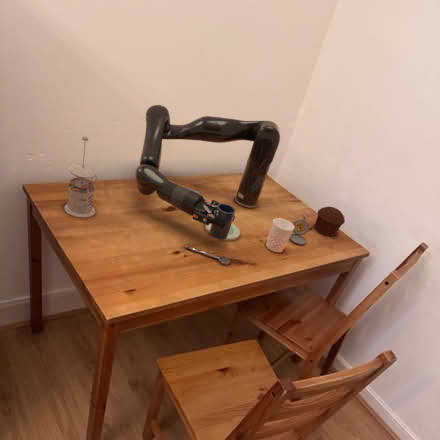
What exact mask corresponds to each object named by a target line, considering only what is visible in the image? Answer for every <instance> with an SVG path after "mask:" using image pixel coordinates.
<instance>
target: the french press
mask: <svg viewBox="0 0 440 440" xmlns="http://www.w3.org/2000/svg"><path fill="white" fill-rule="evenodd" d="M81 140H82V141H84V143H83V144H84V146H83V154H85V153H86V142H89V136H87V135H82V137H81ZM82 158H83V159H82V164H81V163H79V164H75V165H71V166H70V167H69V170H68V171H69V172H70V174H71V175H73V176H74V177H73V178H71V179H70V180H69V184H68V194H67V203H66V204H65V205H64V208H63V209H64V211H65V213H67V214H68V215H70V216H74V217H76V218H90V217H92V216H94V214H96V209H95V208H94V206H93V204H94V196H95V195H94V193H95V188H96V185H97V171H96V170H95V169H94V168H92V167H90V166H89V165H86V164H85V156H83V157H82ZM94 177H95V182H93V178H94ZM90 179H91V180H90Z"/></svg>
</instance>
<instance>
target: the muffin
mask: <svg viewBox="0 0 440 440" xmlns="http://www.w3.org/2000/svg"><path fill="white" fill-rule="evenodd" d="M344 224H345V215H344V214H343V212H342V211H341V210H340V209H338V208H336V207H333V206H325V207H321V208H320V209H318V211H317V217H316V221H315V225H314V229H315V230H316V231H317V232H318V233H319V234H321V235H323V236H325V237H333V236H335V235H336V233H338V231H339V230H340V228H341V226H342V225H344Z"/></svg>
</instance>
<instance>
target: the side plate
mask: <svg viewBox="0 0 440 440" xmlns="http://www.w3.org/2000/svg"><path fill="white" fill-rule="evenodd" d="M211 225H212V224H209V225H205V224H204V228H205V231H206V232H207V233H208V234H209V235H210V228H211ZM240 235H241V230H240V229H239V227H238V226H237V225H236V224H234V223H233V222H232V224H231V227H230V230H229V233H228V236H227V238H226V239H223V240H222V241H230V242H231V241H236V240H237V239H239V237H240Z"/></svg>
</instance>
